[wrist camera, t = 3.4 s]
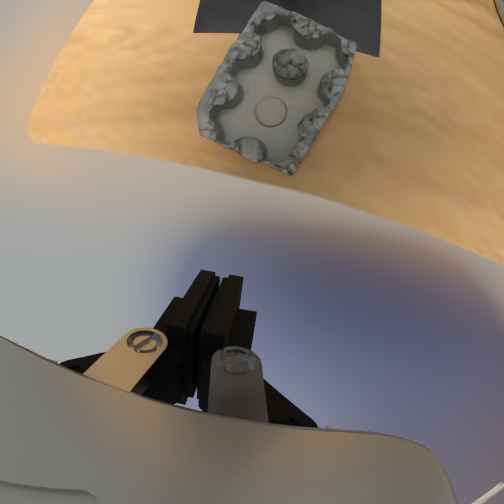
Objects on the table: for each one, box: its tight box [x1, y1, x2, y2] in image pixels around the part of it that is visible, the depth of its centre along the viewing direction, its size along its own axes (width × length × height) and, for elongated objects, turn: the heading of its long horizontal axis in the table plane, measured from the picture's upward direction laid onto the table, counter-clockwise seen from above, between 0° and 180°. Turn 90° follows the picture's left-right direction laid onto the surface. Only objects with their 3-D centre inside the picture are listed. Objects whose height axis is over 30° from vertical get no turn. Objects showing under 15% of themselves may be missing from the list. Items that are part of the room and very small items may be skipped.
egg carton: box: [197, 1, 357, 176], centre depth 16 cm, size 11×8×4 cm
